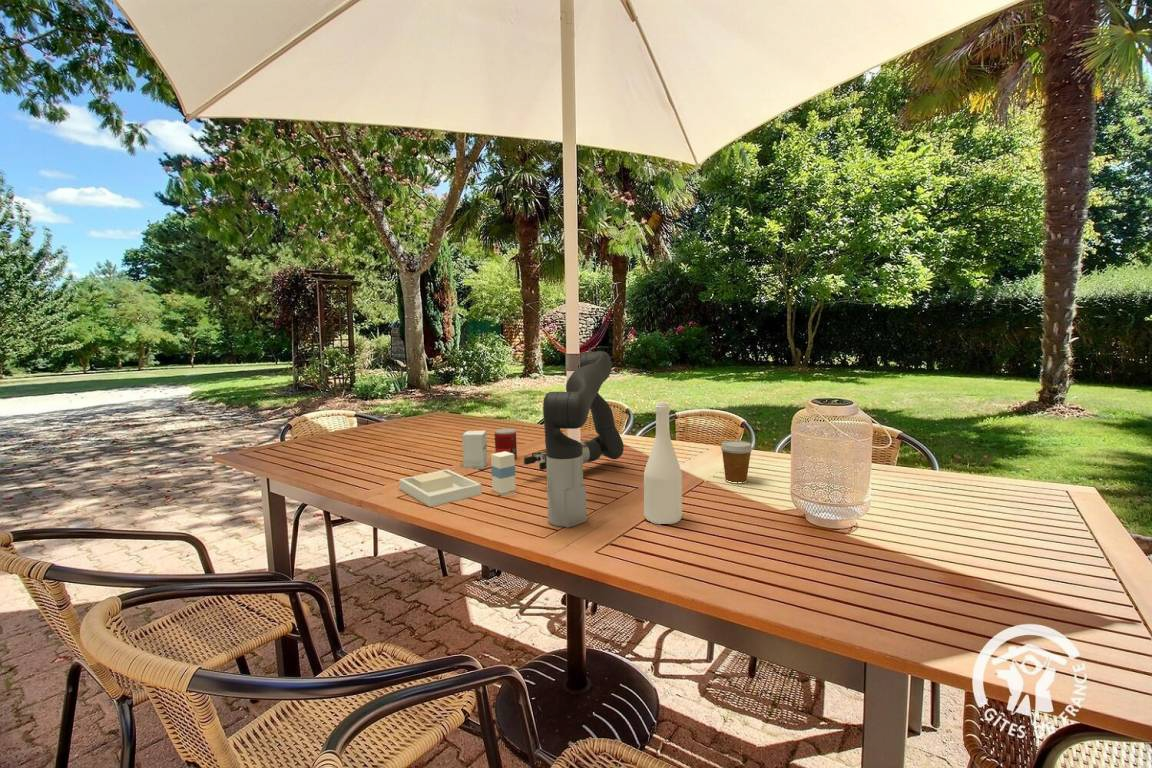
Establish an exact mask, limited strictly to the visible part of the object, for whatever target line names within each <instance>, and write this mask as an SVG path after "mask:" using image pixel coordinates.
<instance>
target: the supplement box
mask: <svg viewBox="0 0 1152 768" xmlns="http://www.w3.org/2000/svg"><path fill="white" fill-rule="evenodd" d="M461 437H462V438H461V440H462V441H461V442H462V462H463V465H462V466H463V468H471V469H474V470H476V469H485V468H486V467H487V465H488V446H487V431H486V430H466V431H465V432H464V433H463V434H462V435H461Z"/></svg>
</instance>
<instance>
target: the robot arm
mask: <svg viewBox="0 0 1152 768" xmlns="http://www.w3.org/2000/svg"><path fill="white" fill-rule="evenodd" d="M580 354H581V363H580V368H579V365H578V369H577V370H574V371H573V372H572V374H571V375H570V376H569V377H568V379H567V381H566V384H565V390H566V391H549V392H547V393H546V394H545V396H544V397H543V402H542V404H543V405H542V415H543V416H542V417H543V425H544V443H545V451H544V450H543V451H537V452H531V455H530V456H525V457H524V458H523V464H524V465H531V464H537V463H538V464H539V470H540V471H544V470H546V490H547V491H546V493H547V496H546V497H547V519H548V520H547V521H548V523H549V524H550V525H552V526H556V527H565V528H572V527H574V526H577V525H580V524H583V523H586V522H587V498H586V497H587V488H586V487H587V486H586V485H584V466H583V465H584V464H587V463H590V462H595V461H597V460H599V459H600V457H601V456H605V457H606V458H609V459H611V460H618V459H620V458H621V457H622V455H623V453H624V448H625V444H624V442H623V438H622V437H621V435H620V433H619V430H618V428H617V426H616V424H615V419H614V415H613V410H612V408H611V406H610V405H609V403H608V402H607V400H606V399H605V398H603V397H602V395H600V394H599V391H600V390H601V387H602V385H603V384H604V383H605V382H606V380H608V379H609V377H610V376H611V372H612V359H611V357H610V355H609V354H608V353H607V352H606V351H604V350H603V351H602V350H598V351H597V350H596V351H590V352H582V353H580ZM589 413H591V417H592V422H593V426H594V430H595V433H596V434H597V436H596V437H594V438H591V439H590V440H587V441H581V442H580V441H578V440H576V439H573V438H571V437H570V436H567V435H566V434H565V433H563V432H562V430H561V429H567V430H569V429H570V430H571V429H572V430H574V429H580V428H582V427H583V426H584V425H585V424H586V422H587V421H588V420H587V419H588V417H589Z"/></svg>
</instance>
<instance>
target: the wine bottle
mask: <svg viewBox="0 0 1152 768" xmlns="http://www.w3.org/2000/svg"><path fill="white" fill-rule="evenodd" d="M654 409H655V411H654V412H655V416H656V417H655V436H654V437H655V438H654V441H653V444H652V447H651V450H650V454H649V456H648V458H647V462H646V465H645V469H644V471H643V472H644V473H643V502H644V503H643V511H644V518H645V519H646V520H647V521H648V522H649V521H650V523H652V524H656V525H661V524H669V525H673V524H677V523H679V522H680V521H681V519H682V518H683V473H682V470H681V465H680V462H679V460H678V458H677V454H676V451H675V448H674V446H673V442H672V439H671V434H670V412H671V405H670V403H669V402H666V401H664V402H663V401H660V402H656V403H655V406H654Z"/></svg>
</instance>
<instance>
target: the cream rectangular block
mask: <svg viewBox="0 0 1152 768" xmlns="http://www.w3.org/2000/svg"><path fill="white" fill-rule="evenodd" d="M440 471H441V472H437V471H435V472H436V473H432V472H430V473H431V474H427V473H425V474H426V475H423V474H420V475H421V476H418V475H416V476H417V477H413V476H411V477H412V484H413V485H415V486H417V487H418V488H420V489H422V490H424V491H426V492H427V493H428V492H433V491H437V490H441V489H446V488H450V487H453V479H452V475H450V474H447V473H445V472H443V471H442V470H440Z"/></svg>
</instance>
